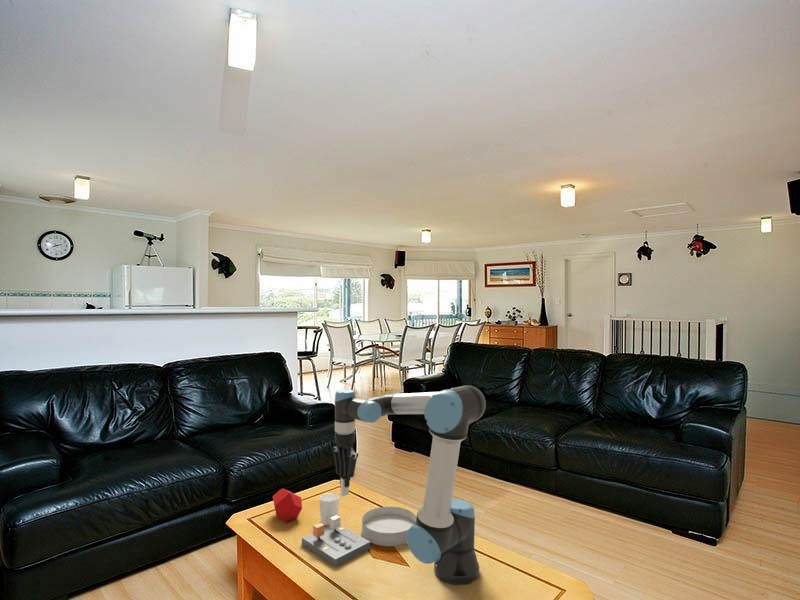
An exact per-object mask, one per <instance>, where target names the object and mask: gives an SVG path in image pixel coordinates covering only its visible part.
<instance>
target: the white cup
mask: <svg viewBox="0 0 800 600" xmlns="http://www.w3.org/2000/svg"><path fill="white" fill-rule="evenodd" d="M339 502H340V496H339V495H338V494H337V493H332V492H328V493H322V495H320V496H319V515H320V523H322V524H324V526H330V518H331V517H333V516H336V515H337V516H338V515H339Z"/></svg>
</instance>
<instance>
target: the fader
mask: <svg viewBox="0 0 800 600" xmlns="http://www.w3.org/2000/svg"><path fill="white" fill-rule="evenodd" d="M324 528H325V525H324V524H322V523H321V522H319V523H316V524H314V525H313V529H312V530H313V531H312V533H313V536H315V537H317V538H318V539H320V536H322V535H324Z"/></svg>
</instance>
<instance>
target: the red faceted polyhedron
mask: <svg viewBox="0 0 800 600" xmlns="http://www.w3.org/2000/svg"><path fill="white" fill-rule="evenodd" d="M272 501H273V505H274V511H275V515H276V519H278V520H280V521H281V522H284V523H287V522H290V521H293V520H296V519H298V518H299V515H300V513H301V511H302V510H303V504H302V503H303V501H302V497H301V496H300V495H297V494H296V493H293V492H292V491H289V490H287V489H285V488H281V489H279V490H278V491H277V492H276V493H274V495H272Z"/></svg>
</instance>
